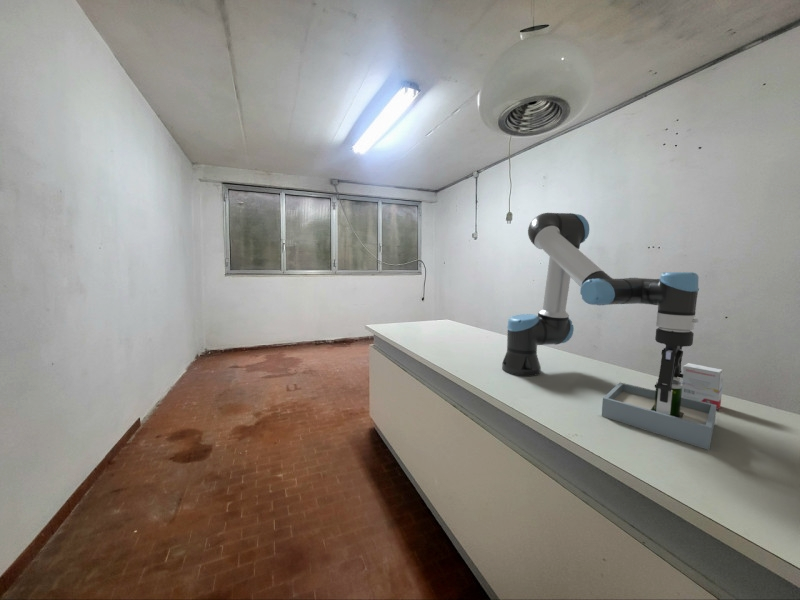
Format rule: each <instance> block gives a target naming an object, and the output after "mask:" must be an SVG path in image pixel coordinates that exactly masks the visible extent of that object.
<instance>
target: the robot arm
mask: <svg viewBox="0 0 800 600" xmlns="http://www.w3.org/2000/svg"><path fill="white" fill-rule="evenodd" d="M527 229H528V230H527V236H528V239H529V240H530V242H531V243H532V245H534V247H536V249H538V250H543V251H544V252H545V253H546V254H547V255H548V256H549V259H548V265H547V266H548V267H547V275H546V280H545V281H546V283H545V287H544V289H545V290H544V295H543V303H542V304H543V305H542V308H540V310H538V313H537V315H536V314H531V313H526V314H525V313H524V314H523V313H522V314H521V313H520V314H515V315H512V316H511V317H510V318H508V321H507V327H506V328H507V329H506V330H507V340H506V342H507V344H506V353H505V355H504V357H503V361H502V363H501V368H502V370H503V372H505V373H507V374H508V373H509V374H512V375H514V376H515V375H516V376H519V377H535V376H538V375H541V364H540V361H539V357H538V354H537V353H538V346H544V345H545V346H546V345H547V346H548V345H549V346H550V345H560V344H565V343H567V342H568V341H570V340H571V338H572V337H573V334H574V329H575V328H574V324H573V321H572V320H571V319H570V317H569V316H570V315H569V313H568V312H567V311H566V310H567V303H568V296H569V291H570V283H571V279H572V280H573V281H574V282H575V283H576V284H577V285H578V286H579V287H580V289H579V290H580V294H579V295H581V299H582V300H583V302H585V303H587V304H588V305H592V306H608V305H609V306H610V305H628V304H629V305H634V304H640V305H643V304H644V305H652V306H657V313H656V322H655V323H656V324H655V326H656V327H658V328H656V329H655V338H654V340H655V342H657V343H658V344H662V345H663V344H664V345H665V347H663V349H662V350H661V358H660V359H661V360H660V367H659V372H658V373H659V375H658V378H659V379H658V378H657V381H658V384H657V385H656V384H654V388H655V389H656V388H658V397H657V408H656V411H657V412H660V413H664V414H668V415H670V410H671V400H672V383H673V380H676V381H679V382H681V381H680V380H681V379H682V378H683V374H682V361H683V356H684V351H683V347H691V346H693V343H694V332H693V330H694V329H695V323H698V322H699V319H698V318H695V317H696V311H697V309H696V308H697V303H698V302H697V301H698V293H699V290H700V288H699V275H698V273H696V272H693V271H692V272H691V271H690V272H689V271H683V272H681V271H679V272H678V271H665V272H662V273H661V274H660V278H646V277H645V278H643V277H642V278H641V277H624V278H613V277H611V276H610V275H608V273H606V272H605V271H604V270H602V269H601V268H600V267H599V266H598V265H597V264H596V263H594V262H593V261H592V260H591V259H590V258H589V257H587V255H585V254H584V253H583V252H582V251H581V250H580V247H581V246H580V245H581V244H582V243H584V242H586V240H587V239H588V237H589V235H590V224H589V221H588V220H587V218H586V217H585V216H583V215H582V214H580V213H579V214H577V213H571V212H570V213H567V212H565V213H563V212H543V213H541V214H540V213H539V214H538V215H537V216H535V217H534V218H533V219H532V220H531V222H530V223H529V225H528V228H527ZM680 378H681V379H680ZM664 384H667V385H664Z"/></svg>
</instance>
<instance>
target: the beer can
mask: <svg viewBox="0 0 800 600" xmlns="http://www.w3.org/2000/svg"><path fill="white" fill-rule="evenodd" d="M658 379H659V377H657V381H656V383H655V385H657V384H658ZM664 385H667V384H664ZM657 397H658V388H655V403H654V411H656V408H657ZM681 397H682V381H676V380H673V383H672V400H671V410H670V415H671V416H675V417H678V418H679V417H680V407H681ZM667 415H668V414H667Z"/></svg>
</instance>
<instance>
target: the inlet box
mask: <svg viewBox="0 0 800 600" xmlns="http://www.w3.org/2000/svg"><path fill="white" fill-rule="evenodd" d="M655 391H656V389H655V390H654V389H649V388H645V387H641V386H637V385H633V384H629V383H626V382H625V383H624V382H621V381H619V382H618V383H617V385H615V386H614V387H613V388H612V389H611V390H610V391H609V392H608V393H607V394H605V395H604V396H603V397H602V406H601V417H604V418H607V419H609V420H613V421H616V422H618V423H623V424H626V425H629V426H632V427H635V428H638V429H642V430H645V431H647V432H650V433H654V434H657V435H660V436H664V437H666V438H669V439H673V440H676V441H679V442H682V443H685V444H687V445H688V444H689V445H691V446H696V447H698V448H701V449H705V450H707V451H710V449H711V448H710V447H711V442H712V438H713V433H714V428H715V424H716V423H715V421H716V413H717V409H716V406H717V405H714V404H710V403H706V402H701V401H697V400H693V399H689V398H684V397H681V407H680V417H679V418H678V417H675V416H671V415H667V414H664V413H660V412H657V411H654V403H655Z"/></svg>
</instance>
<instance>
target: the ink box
mask: <svg viewBox="0 0 800 600" xmlns="http://www.w3.org/2000/svg"><path fill="white" fill-rule="evenodd" d="M681 374H683V378H681V383H682V384H681V386H682V397H684V398H689V399H693V400H697V401H701V402H706V403H710V404H714V405H717V406H716V410H719V409H720V407H721V404H722V395H723V393H722V392H723V383H724V369H721V368H715V367H710V366H705V365H702V364H695V363H689V362H687V363H685V364H684V365H682V370H681Z"/></svg>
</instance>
